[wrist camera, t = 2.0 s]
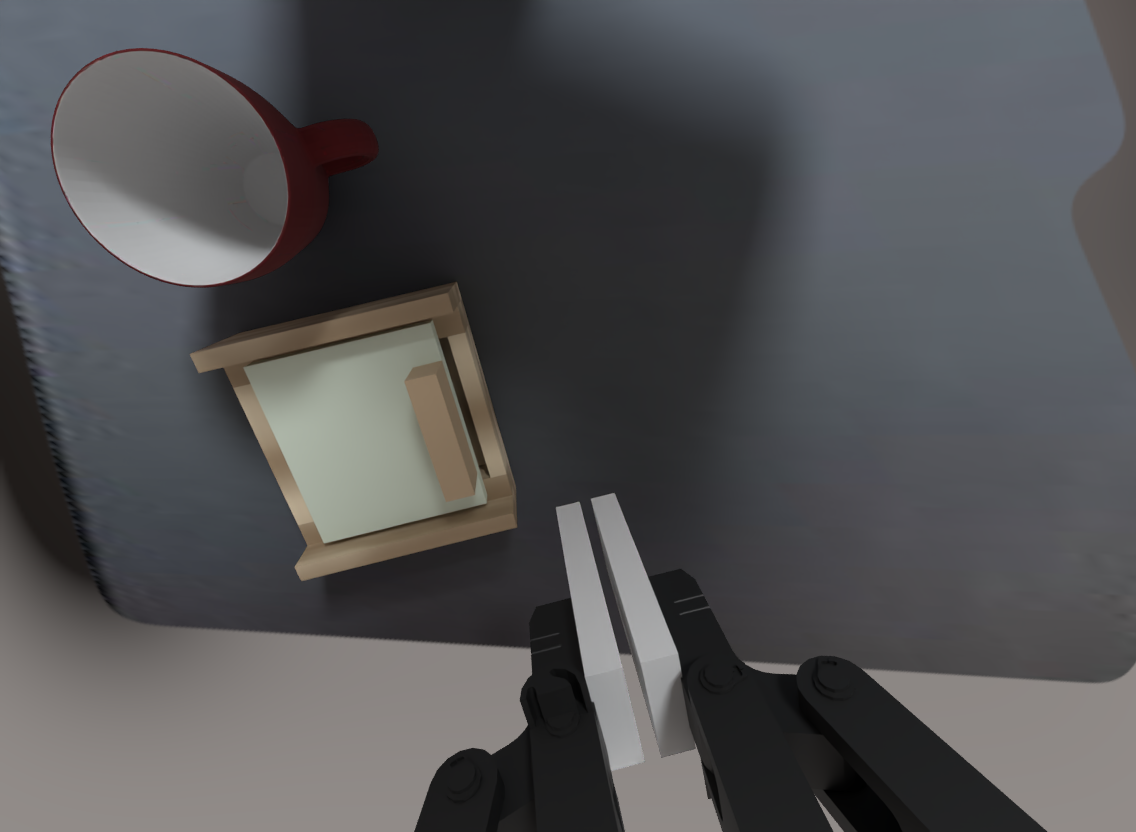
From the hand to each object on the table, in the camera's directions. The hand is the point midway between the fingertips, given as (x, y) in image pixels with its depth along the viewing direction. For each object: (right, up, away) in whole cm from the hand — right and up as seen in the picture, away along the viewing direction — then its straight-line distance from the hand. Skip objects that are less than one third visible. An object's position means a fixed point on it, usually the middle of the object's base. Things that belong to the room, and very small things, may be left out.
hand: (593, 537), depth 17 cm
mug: (-15, +17, +12) cm, 26 cm away
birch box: (-12, +4, +17) cm, 21 cm away
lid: (-12, +3, +14) cm, 19 cm away
